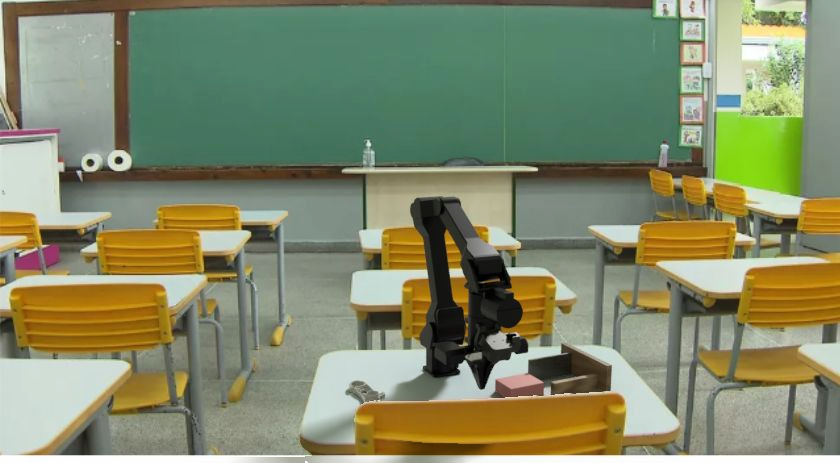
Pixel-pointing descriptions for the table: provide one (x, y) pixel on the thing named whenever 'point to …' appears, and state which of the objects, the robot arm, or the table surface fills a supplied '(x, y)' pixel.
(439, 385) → the table surface
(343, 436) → the table surface
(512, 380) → the block
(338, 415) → the table surface
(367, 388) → the bracket
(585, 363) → the shelf
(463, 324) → the robot arm
